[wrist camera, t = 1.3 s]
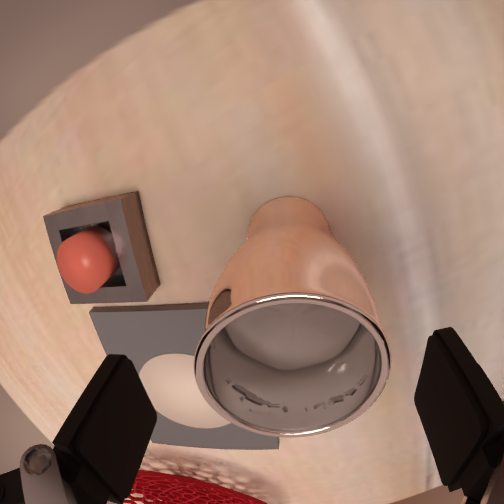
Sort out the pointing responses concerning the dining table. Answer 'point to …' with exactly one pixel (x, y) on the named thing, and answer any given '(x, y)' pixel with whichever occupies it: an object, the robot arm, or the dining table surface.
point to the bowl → (183, 491)
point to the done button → (88, 259)
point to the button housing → (126, 242)
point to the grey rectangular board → (172, 373)
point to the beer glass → (291, 330)
